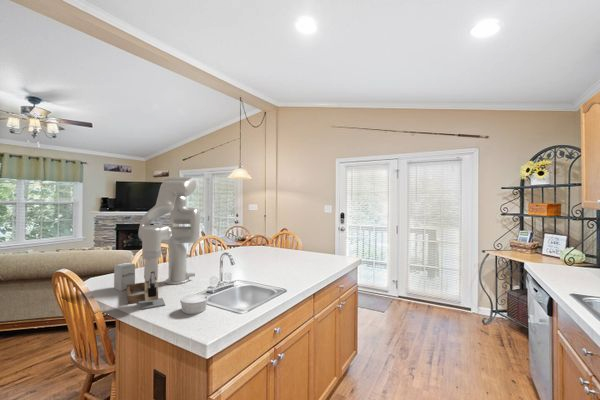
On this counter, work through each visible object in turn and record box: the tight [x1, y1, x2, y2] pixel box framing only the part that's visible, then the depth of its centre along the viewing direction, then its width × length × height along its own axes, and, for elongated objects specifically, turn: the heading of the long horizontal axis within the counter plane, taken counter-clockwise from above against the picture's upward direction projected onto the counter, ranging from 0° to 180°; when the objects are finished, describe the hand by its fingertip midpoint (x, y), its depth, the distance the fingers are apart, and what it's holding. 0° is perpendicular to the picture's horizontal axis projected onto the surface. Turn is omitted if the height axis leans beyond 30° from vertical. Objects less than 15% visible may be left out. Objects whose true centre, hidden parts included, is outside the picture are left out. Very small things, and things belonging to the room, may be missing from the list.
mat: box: [137, 297, 166, 311], centre depth 131 cm, size 10×10×1 cm
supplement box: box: [113, 262, 136, 291], centre depth 154 cm, size 7×7×13 cm
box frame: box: [126, 281, 145, 305], centre depth 143 cm, size 12×20×4 cm, turn 32°
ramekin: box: [179, 293, 209, 315], centre depth 124 cm, size 11×11×5 cm
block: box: [144, 280, 159, 301], centre depth 131 cm, size 5×5×8 cm
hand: (151, 294), depth 131 cm, fingers closed on block, 5 cm apart
